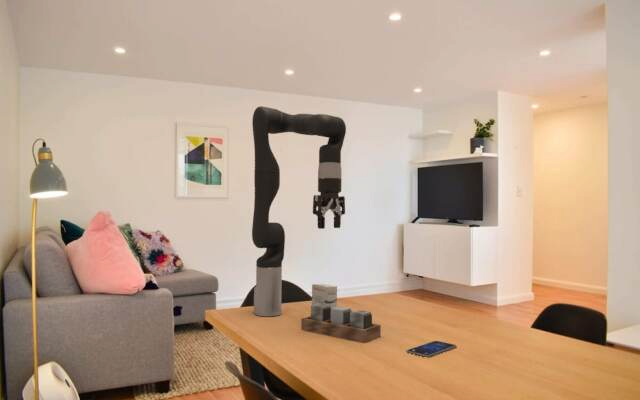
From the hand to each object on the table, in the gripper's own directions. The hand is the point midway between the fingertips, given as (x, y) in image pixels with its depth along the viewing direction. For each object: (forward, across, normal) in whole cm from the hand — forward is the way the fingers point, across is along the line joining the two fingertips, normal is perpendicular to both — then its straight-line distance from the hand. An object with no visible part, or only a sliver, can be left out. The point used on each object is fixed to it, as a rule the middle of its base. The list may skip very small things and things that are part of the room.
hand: (329, 228), depth 150 cm
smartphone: (+33, 0, +35) cm, 48 cm away
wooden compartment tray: (+32, +2, +6) cm, 33 cm away
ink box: (+32, -11, -10) cm, 36 cm away
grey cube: (+31, +1, +6) cm, 31 cm away
